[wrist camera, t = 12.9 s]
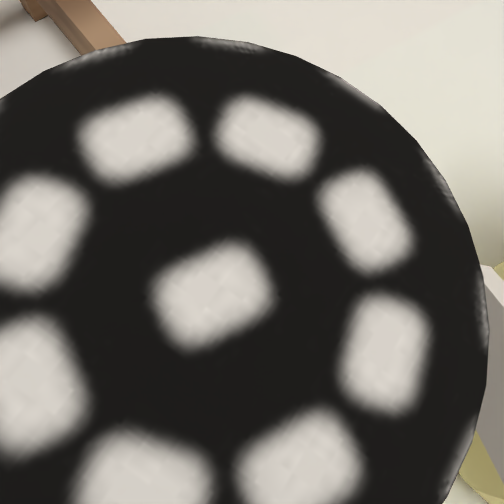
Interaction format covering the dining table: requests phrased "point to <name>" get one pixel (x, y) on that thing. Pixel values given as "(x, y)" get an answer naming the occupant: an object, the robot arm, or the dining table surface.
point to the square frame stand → (76, 22)
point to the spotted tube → (228, 287)
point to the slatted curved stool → (483, 460)
